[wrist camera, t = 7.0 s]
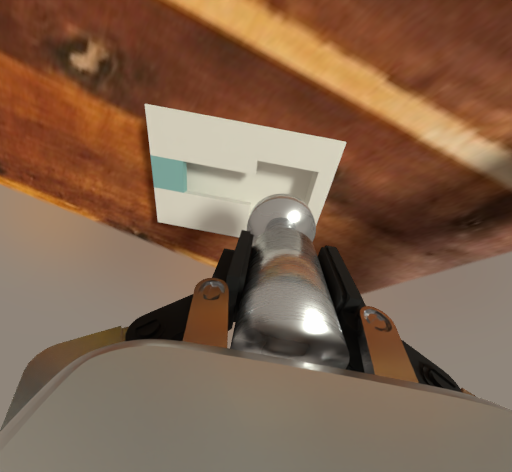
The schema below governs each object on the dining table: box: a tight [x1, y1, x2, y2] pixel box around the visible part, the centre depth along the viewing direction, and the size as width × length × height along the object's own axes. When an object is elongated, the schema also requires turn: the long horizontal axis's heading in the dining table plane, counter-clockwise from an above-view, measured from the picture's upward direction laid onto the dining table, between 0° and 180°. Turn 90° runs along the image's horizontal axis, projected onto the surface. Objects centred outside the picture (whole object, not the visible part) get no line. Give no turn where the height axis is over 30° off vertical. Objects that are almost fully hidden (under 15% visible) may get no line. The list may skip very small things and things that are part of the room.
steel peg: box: [230, 194, 350, 369], centre depth 11 cm, size 5×5×10 cm
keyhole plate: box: [145, 104, 346, 237], centre depth 23 cm, size 20×13×4 cm, turn 81°
